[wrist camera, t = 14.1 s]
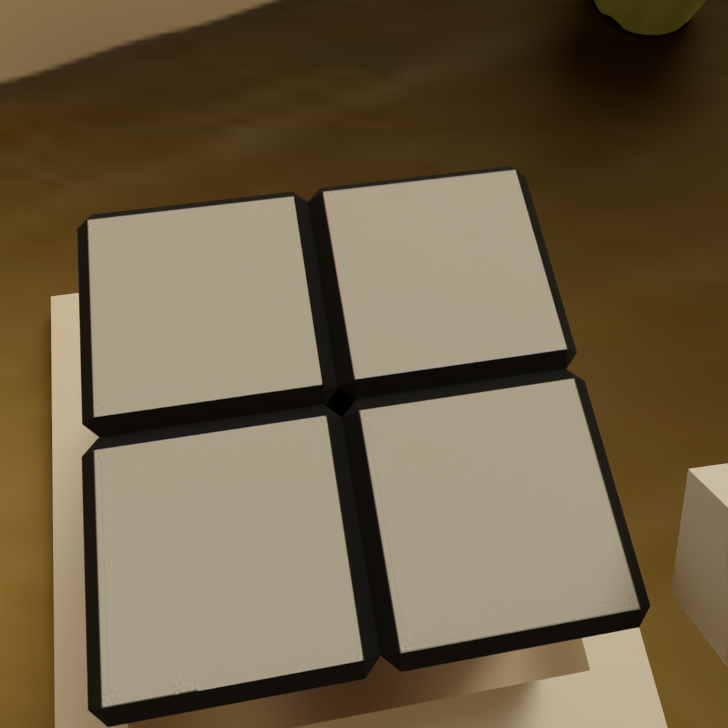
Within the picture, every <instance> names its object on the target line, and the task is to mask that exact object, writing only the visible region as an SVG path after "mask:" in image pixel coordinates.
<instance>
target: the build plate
mask: <svg viewBox="0 0 728 728" xmlns="http://www.w3.org/2000/svg"><path fill="white" fill-rule="evenodd" d="M51 354H52V464H53V575H54V685H55V728H128V724H123V725H117V726H112V727H107V726H106V725H105V724H103V723H102V722H101V721H100V720H99V719H98V718H97V717H95V716H94V715H93V714H92V713H91V712H90V711H88V697H87V656H86V615H85V575H84V534H83V493H82V456H83V455H84V453H85V452H86V451H87V450H88V449H89V448H90V447H91V446H92V444H93V443H94V442H95V441H96V440H97V439H98V438H99V437H98V436H97V435H96V434H94V433H93V432H92V431H90V430H89V429H88V428H86V427H85V426H84V425H83V424H82V401H81V361H80V321H79V293H75V294H67V295H59V296H52V297H51ZM582 641H583V644H584V648H585V652H586V656H587V660H588V664H589V668H590V671H585V672H579V673H574V674H569V675H564V676H559V677H553V678H548V679H543V680H538V681H533V682H527V683H522V684H517V685H512V686H507V687H501V688H496V689H491V690H486V691H481V692H475V693H470V694H465V695H460V696H455V697H450V698H444V699H439V700H434V701H429V702H424V703H418V704H413V705H408V706H403V707H398V708H392V709H387V710H382V711H377V712H372V713H366V714H361V715H356V716H351V717H346V718H341V719H335V720H330V721H325V722H320V723H315V724H309V725H304V726H299V727H294V728H667V724H666V721H665V717H664V714H663V710H662V707H661V703H660V700H659V696H658V693H657V689H656V686H655V682H654V679H653V675H652V672H651V668H650V665H649V661H648V658H647V654H646V650H645V647H644V643H643V640H642V636H641V633H640V629H639V627H638V628H633V629H628V630H622V631H617V632H612V633H606V634H601V635H596V636H591V637H585V638H582Z"/></svg>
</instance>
